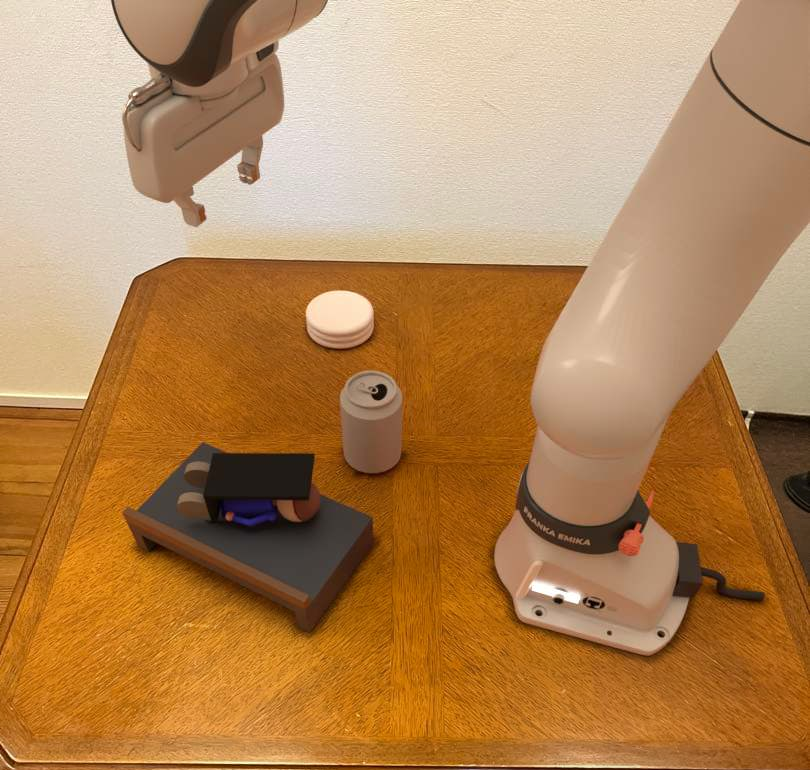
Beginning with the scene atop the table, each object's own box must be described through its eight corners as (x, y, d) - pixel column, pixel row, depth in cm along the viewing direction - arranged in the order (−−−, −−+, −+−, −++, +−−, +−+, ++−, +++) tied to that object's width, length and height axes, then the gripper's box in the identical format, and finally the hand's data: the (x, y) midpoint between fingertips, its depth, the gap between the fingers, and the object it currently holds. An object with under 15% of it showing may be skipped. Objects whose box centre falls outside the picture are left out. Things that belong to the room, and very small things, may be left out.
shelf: (373, 542, 88) (372, 508, 83) (310, 633, 81) (304, 602, 75) (210, 468, 94) (199, 432, 89) (138, 546, 87) (121, 512, 82)
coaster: (297, 342, 109) (294, 323, 106) (321, 302, 115) (319, 283, 112) (361, 356, 107) (360, 337, 104) (382, 315, 113) (382, 296, 110)
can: (394, 482, 93) (395, 413, 84) (337, 472, 94) (331, 403, 84) (406, 440, 98) (408, 370, 88) (351, 431, 99) (347, 361, 89)
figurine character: (190, 542, 83) (321, 536, 82) (166, 500, 77) (307, 492, 76) (200, 496, 87) (326, 489, 86) (178, 452, 81) (313, 444, 80)
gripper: (148, 108, 60) (185, 260, 71) (288, 23, 71) (301, 166, 82) (89, 90, 62) (134, 241, 73) (234, 10, 73) (254, 152, 84)
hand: (224, 201), depth 78 cm, fingers open, 8 cm apart
